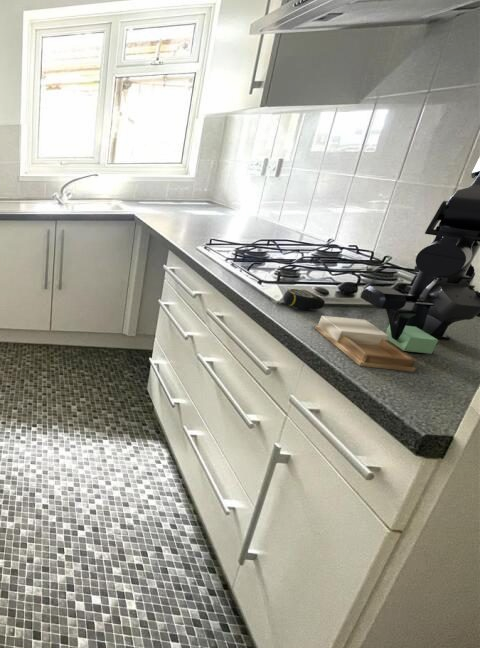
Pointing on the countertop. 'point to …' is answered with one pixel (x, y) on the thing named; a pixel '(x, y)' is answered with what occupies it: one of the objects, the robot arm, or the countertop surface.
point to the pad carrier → (364, 343)
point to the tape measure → (303, 299)
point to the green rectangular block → (414, 340)
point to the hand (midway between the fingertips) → (408, 340)
